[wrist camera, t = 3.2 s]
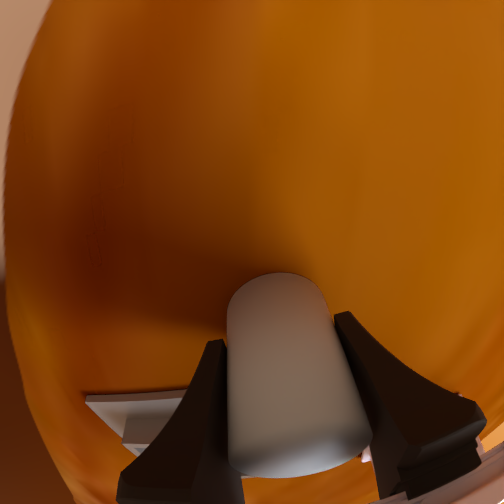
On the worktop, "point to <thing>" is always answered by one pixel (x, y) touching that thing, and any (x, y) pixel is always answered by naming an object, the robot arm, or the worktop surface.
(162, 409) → the grey square tray
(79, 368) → the worktop surface
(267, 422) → the cylinder
